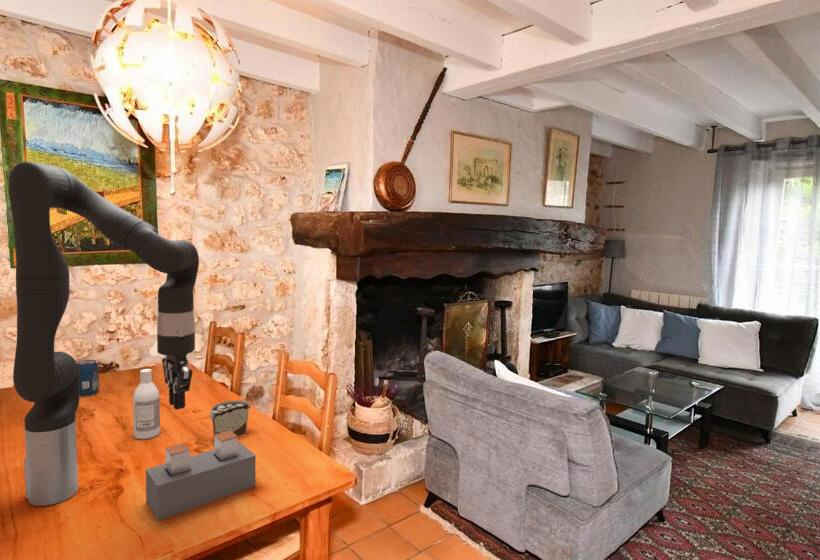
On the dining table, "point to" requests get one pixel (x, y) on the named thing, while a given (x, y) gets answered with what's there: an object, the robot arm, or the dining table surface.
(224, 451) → the peg far
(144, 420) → the bath foam
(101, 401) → the dining table surface
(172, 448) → the peg near
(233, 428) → the half cake
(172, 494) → the guide block
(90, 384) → the soda can
